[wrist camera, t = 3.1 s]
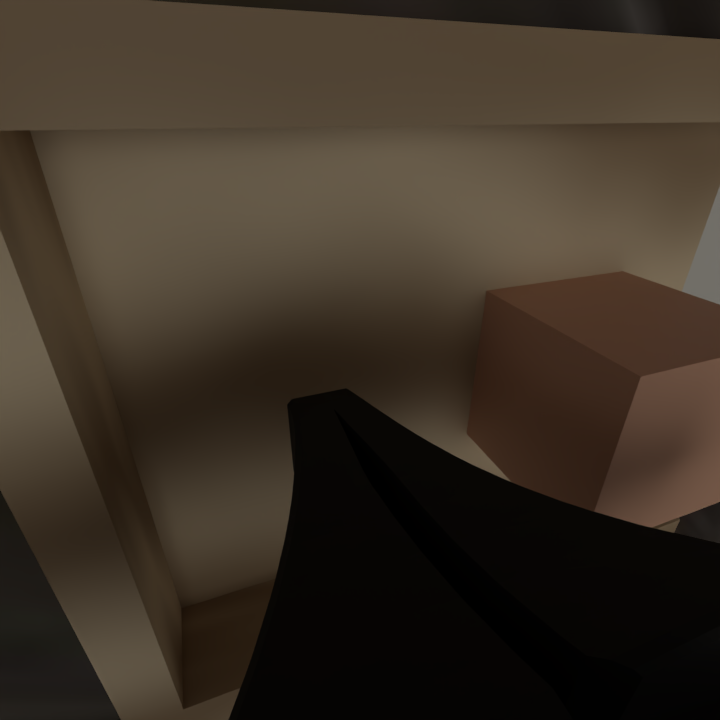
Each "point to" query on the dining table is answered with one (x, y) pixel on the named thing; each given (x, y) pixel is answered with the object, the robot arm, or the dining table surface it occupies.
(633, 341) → the terracotta cube
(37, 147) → the tray
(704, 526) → the dining table surface
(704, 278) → the grey panel
